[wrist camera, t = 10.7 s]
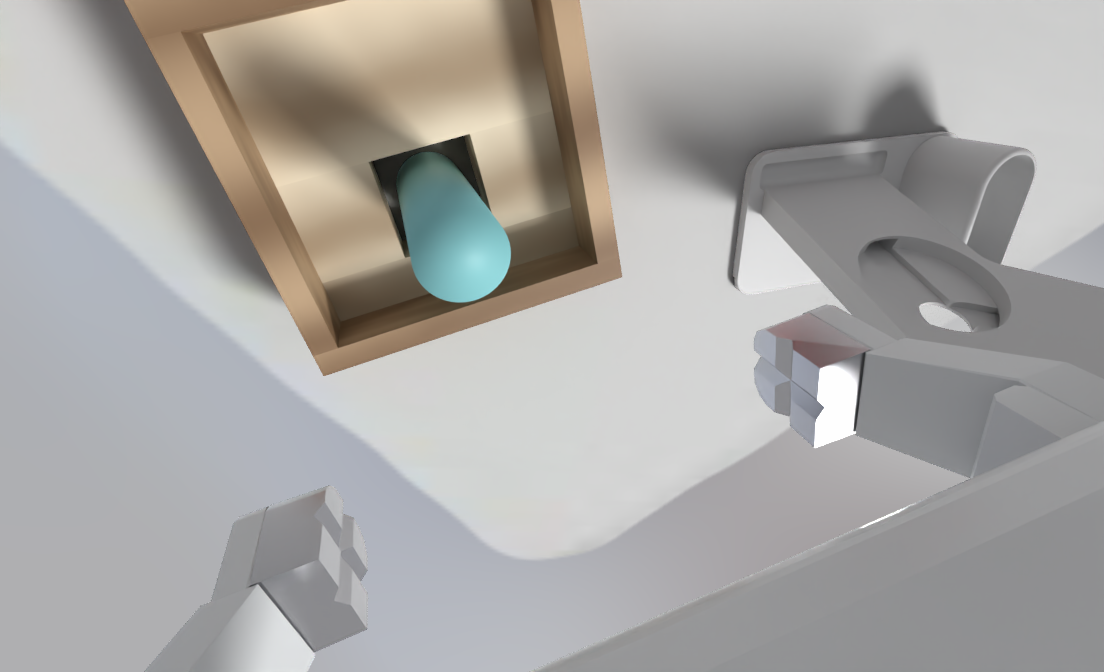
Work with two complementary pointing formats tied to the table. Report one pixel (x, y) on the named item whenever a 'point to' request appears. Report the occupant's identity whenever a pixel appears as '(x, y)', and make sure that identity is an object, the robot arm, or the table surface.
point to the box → (392, 148)
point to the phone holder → (913, 242)
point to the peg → (450, 230)
